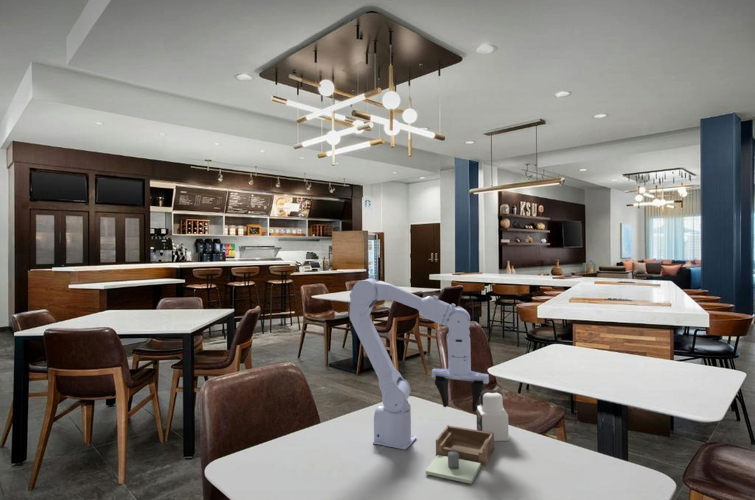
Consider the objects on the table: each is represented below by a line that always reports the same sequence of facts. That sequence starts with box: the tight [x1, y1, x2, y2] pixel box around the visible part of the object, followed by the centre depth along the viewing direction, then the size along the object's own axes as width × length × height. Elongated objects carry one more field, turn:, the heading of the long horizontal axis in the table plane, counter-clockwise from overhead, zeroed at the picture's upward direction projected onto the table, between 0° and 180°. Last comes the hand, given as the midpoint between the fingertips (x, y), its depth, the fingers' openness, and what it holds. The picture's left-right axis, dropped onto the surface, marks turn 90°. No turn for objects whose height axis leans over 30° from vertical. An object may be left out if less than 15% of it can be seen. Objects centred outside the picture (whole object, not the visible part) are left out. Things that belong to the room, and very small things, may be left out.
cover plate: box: [425, 451, 481, 485], centre depth 101 cm, size 9×10×4 cm
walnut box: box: [435, 424, 495, 467], centre depth 110 cm, size 10×12×4 cm
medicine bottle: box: [475, 389, 510, 442], centre depth 120 cm, size 7×7×12 cm
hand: (460, 408), depth 114 cm, fingers open, 7 cm apart
